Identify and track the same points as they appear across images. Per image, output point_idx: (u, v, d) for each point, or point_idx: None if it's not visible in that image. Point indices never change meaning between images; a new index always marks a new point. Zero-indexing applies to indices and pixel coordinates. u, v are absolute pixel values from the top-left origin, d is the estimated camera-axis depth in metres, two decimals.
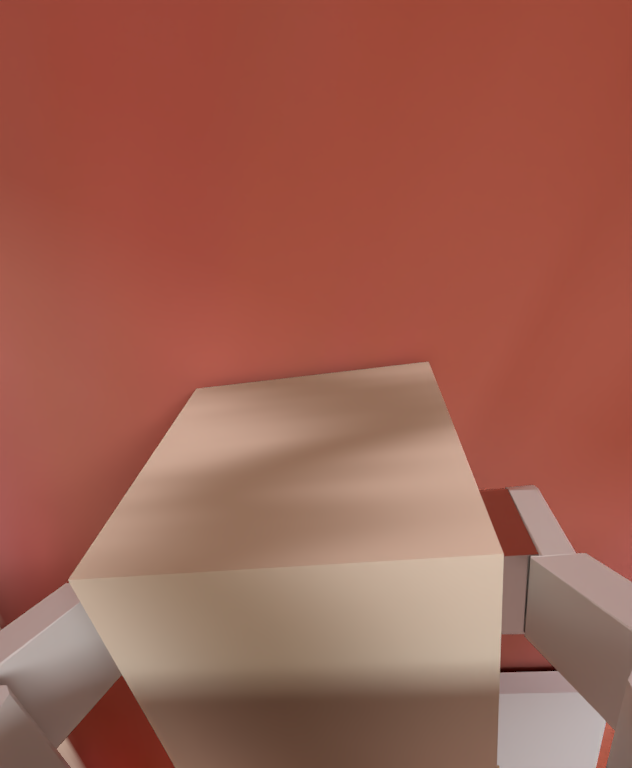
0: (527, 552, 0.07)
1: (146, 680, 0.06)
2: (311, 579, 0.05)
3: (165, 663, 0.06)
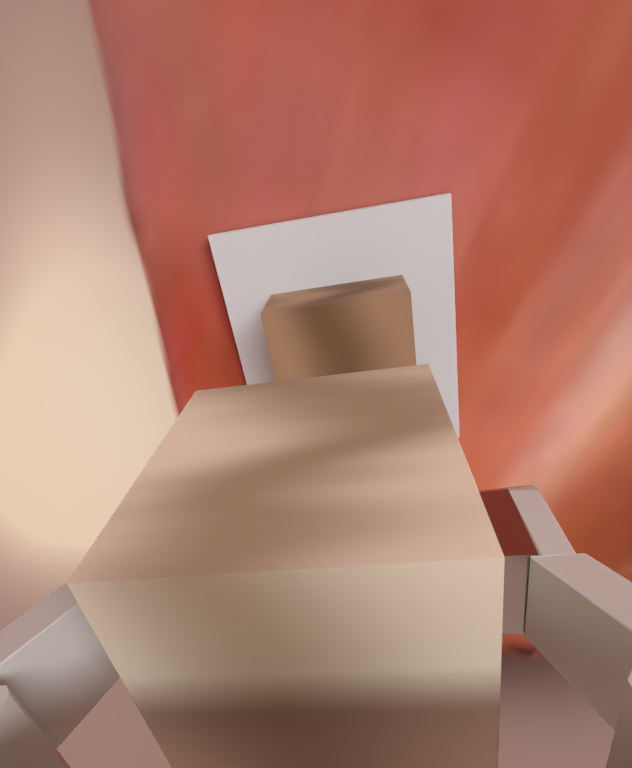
0: (527, 552, 0.07)
1: (145, 684, 0.06)
2: (311, 583, 0.05)
3: (164, 667, 0.06)
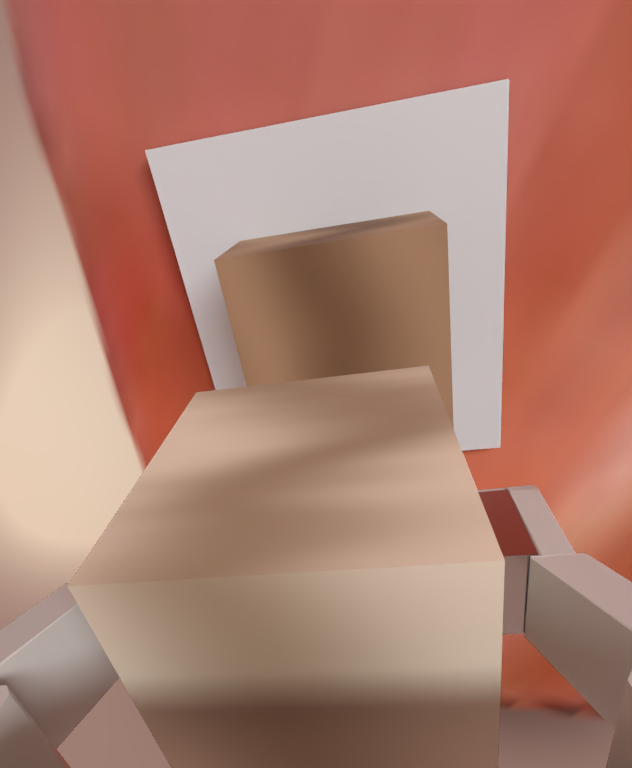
0: (527, 552, 0.07)
1: (146, 686, 0.06)
2: (312, 586, 0.05)
3: (165, 669, 0.06)
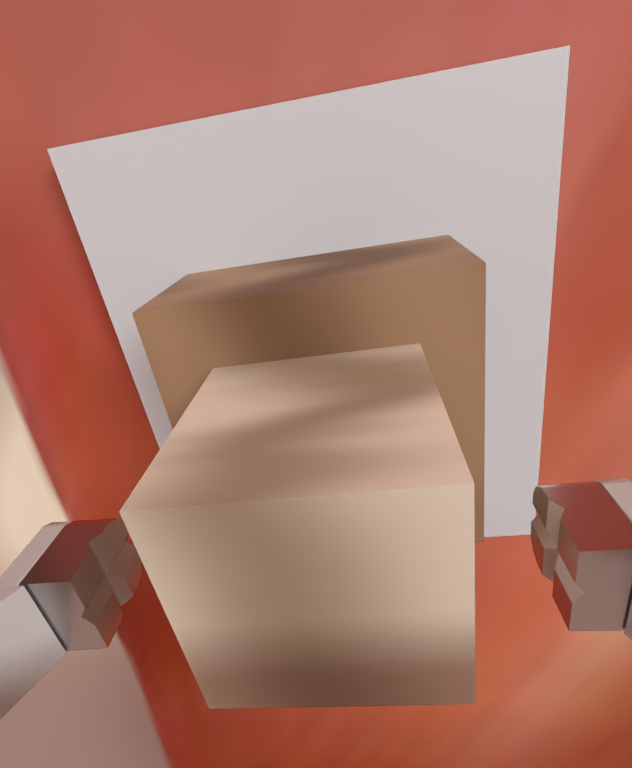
0: None
1: (179, 604, 0.07)
2: (320, 508, 0.06)
3: (196, 587, 0.07)
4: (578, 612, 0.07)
